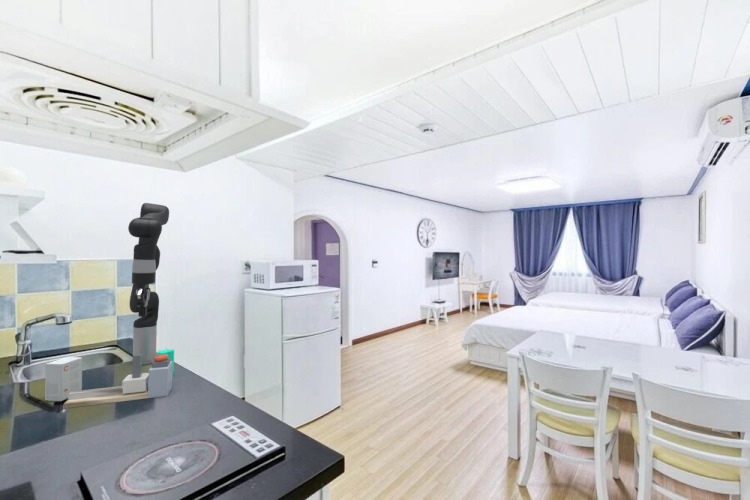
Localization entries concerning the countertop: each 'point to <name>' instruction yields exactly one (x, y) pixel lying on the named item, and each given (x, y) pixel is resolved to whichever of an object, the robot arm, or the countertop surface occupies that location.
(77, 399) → the rail
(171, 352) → the candle
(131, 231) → the robot arm
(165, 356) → the button
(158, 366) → the push button housing
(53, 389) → the small box
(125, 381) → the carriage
